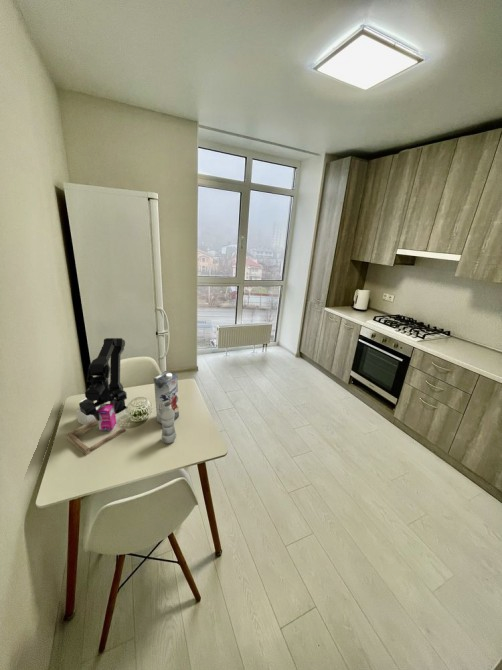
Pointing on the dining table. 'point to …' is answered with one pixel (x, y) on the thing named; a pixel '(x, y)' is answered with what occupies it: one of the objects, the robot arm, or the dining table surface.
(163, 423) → the plastic bottle
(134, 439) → the dining table surface
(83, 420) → the medicine bottle
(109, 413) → the supplement box
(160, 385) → the juice carton
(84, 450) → the cleat bracket
